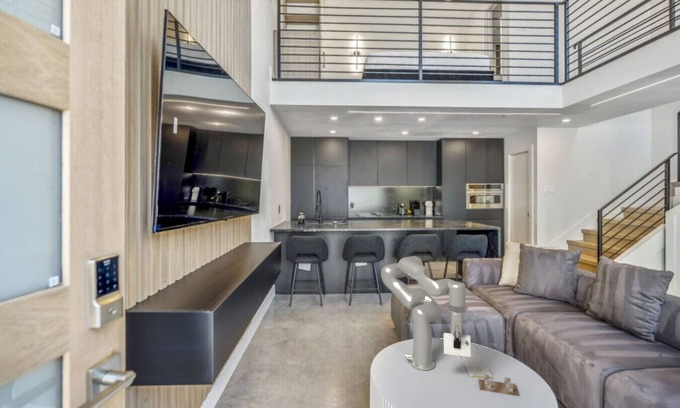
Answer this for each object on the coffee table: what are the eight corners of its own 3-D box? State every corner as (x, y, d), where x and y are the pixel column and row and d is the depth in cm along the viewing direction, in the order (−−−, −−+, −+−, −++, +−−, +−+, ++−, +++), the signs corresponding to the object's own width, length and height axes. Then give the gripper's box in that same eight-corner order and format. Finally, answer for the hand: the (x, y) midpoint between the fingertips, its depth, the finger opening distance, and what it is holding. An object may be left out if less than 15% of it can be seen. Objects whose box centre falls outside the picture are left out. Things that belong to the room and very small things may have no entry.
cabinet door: (443, 354, 162) (443, 335, 162) (444, 351, 166) (443, 332, 166) (470, 357, 159) (470, 338, 159) (470, 354, 162) (469, 335, 162)
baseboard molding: (466, 378, 168) (492, 380, 166) (467, 372, 168) (492, 374, 166) (455, 350, 198) (476, 351, 197) (455, 345, 198) (476, 346, 197)
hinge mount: (479, 389, 156) (479, 381, 156) (478, 380, 164) (478, 372, 164) (518, 396, 151) (518, 387, 151) (515, 386, 159) (515, 378, 159)
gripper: (449, 302, 172) (449, 339, 172) (448, 312, 156) (448, 352, 156) (464, 304, 169) (464, 341, 169) (466, 314, 154) (465, 355, 154)
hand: (457, 346), depth 163 cm, fingers closed on cabinet door, 2 cm apart
